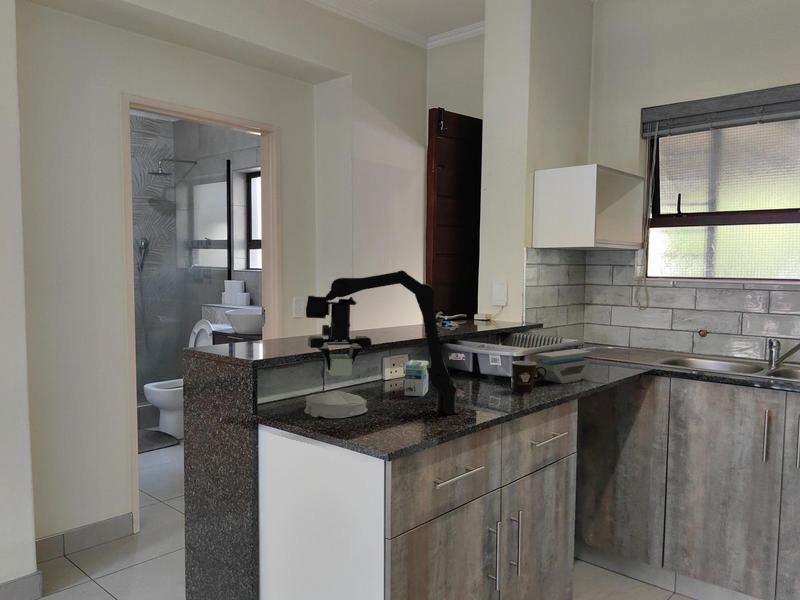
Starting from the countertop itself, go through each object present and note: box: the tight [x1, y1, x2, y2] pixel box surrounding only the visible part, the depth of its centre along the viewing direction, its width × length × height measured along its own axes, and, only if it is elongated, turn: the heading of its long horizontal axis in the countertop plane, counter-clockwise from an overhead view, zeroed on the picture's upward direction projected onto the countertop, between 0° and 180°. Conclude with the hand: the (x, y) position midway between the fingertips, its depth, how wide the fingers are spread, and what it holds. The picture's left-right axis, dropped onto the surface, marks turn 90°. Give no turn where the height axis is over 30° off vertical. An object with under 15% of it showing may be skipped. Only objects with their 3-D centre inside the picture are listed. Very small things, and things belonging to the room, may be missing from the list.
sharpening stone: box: [534, 348, 593, 384], centre depth 245 cm, size 25×8×11 cm, turn 128°
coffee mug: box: [511, 360, 546, 393], centre depth 224 cm, size 12×9×10 cm
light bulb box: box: [404, 359, 429, 397], centre depth 217 cm, size 11×7×11 cm, turn 168°
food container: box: [304, 389, 369, 419], centre depth 191 cm, size 20×20×7 cm
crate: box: [326, 353, 353, 377], centre depth 191 cm, size 9×6×5 cm, turn 17°
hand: (339, 369), depth 191 cm, fingers closed on crate, 6 cm apart
